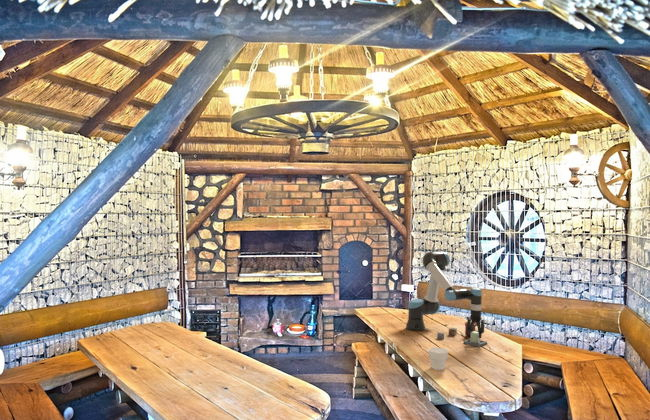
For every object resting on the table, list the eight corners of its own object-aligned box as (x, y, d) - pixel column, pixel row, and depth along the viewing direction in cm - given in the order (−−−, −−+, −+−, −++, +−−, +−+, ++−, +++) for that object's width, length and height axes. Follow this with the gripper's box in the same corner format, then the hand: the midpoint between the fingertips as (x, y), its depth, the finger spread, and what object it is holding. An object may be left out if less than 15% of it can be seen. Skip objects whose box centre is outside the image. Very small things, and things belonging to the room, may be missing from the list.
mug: (465, 337, 393) (465, 324, 393) (463, 334, 402) (463, 321, 401) (481, 338, 392) (481, 325, 392) (479, 335, 400) (479, 322, 400)
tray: (463, 343, 377) (463, 341, 377) (472, 340, 385) (472, 338, 385) (478, 347, 369) (478, 344, 368) (487, 344, 377) (487, 341, 377)
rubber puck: (435, 338, 390) (436, 333, 390) (439, 337, 394) (439, 332, 394) (441, 339, 387) (441, 334, 387) (445, 338, 390) (445, 333, 390)
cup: (425, 369, 319) (426, 351, 319) (430, 363, 330) (430, 346, 330) (446, 372, 314) (446, 354, 314) (450, 366, 325) (450, 348, 325)
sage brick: (470, 341, 377) (470, 332, 377) (474, 340, 380) (474, 331, 380) (476, 343, 373) (476, 333, 373) (480, 342, 377) (480, 332, 377)
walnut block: (448, 335, 400) (448, 328, 400) (450, 333, 405) (450, 327, 405) (454, 336, 398) (455, 329, 398) (456, 334, 402) (456, 328, 402)
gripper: (462, 308, 380) (461, 339, 381) (484, 312, 367) (483, 345, 368) (467, 306, 386) (467, 338, 386) (489, 311, 372) (489, 343, 373)
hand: (475, 341), depth 377 cm, fingers closed on sage brick, 5 cm apart
